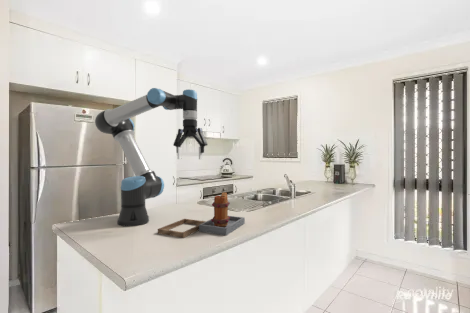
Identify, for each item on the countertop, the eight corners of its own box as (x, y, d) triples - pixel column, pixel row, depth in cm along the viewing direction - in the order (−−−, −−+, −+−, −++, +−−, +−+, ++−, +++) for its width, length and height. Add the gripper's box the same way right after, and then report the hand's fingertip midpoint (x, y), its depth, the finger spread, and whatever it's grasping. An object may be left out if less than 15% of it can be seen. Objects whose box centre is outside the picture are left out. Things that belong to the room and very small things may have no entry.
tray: (199, 231, 116) (199, 224, 115) (220, 220, 135) (220, 214, 135) (226, 235, 110) (226, 228, 110) (244, 223, 129) (244, 217, 129)
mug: (226, 229, 114) (226, 196, 114) (209, 228, 116) (209, 195, 116) (233, 221, 128) (233, 191, 128) (218, 220, 130) (218, 191, 130)
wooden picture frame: (157, 233, 112) (157, 229, 112) (184, 222, 130) (184, 218, 130) (183, 237, 106) (183, 233, 106) (207, 225, 125) (207, 221, 125)
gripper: (166, 119, 136) (166, 159, 136) (206, 117, 126) (206, 159, 126) (175, 121, 143) (175, 158, 143) (213, 119, 133) (213, 159, 133)
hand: (190, 159), depth 135 cm, fingers open, 13 cm apart
